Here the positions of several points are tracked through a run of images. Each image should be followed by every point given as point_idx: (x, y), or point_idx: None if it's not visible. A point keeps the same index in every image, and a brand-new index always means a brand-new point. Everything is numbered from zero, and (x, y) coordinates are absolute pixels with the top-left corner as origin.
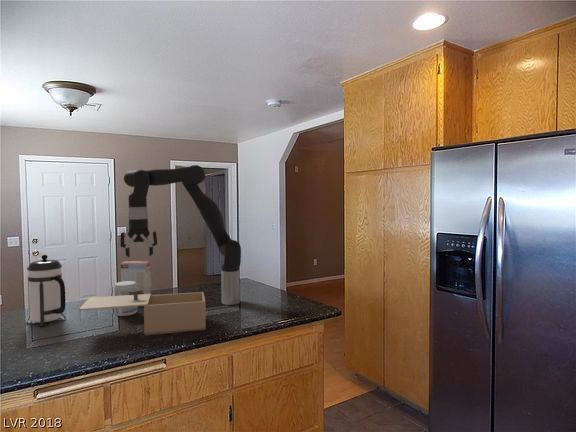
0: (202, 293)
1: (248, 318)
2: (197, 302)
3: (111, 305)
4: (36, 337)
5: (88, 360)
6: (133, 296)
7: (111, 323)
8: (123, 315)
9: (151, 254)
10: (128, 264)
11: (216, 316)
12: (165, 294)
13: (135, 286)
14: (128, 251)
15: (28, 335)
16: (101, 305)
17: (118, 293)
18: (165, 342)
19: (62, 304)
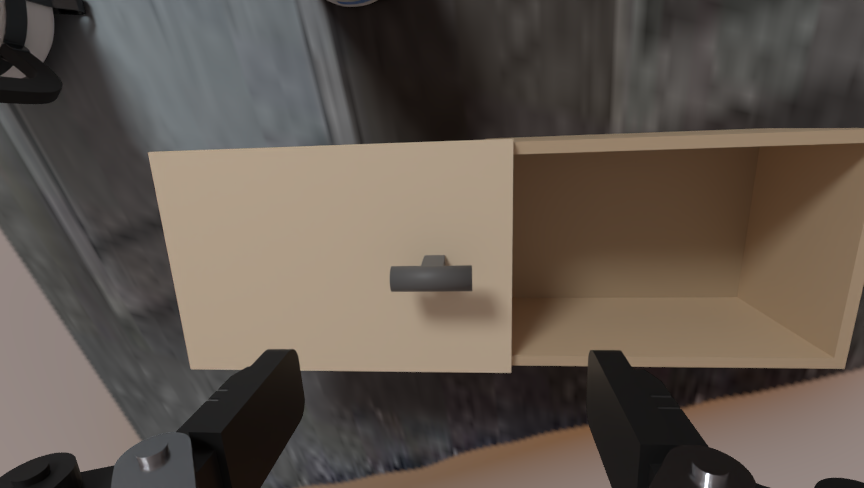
0: None
1: None
2: (791, 366)
3: (327, 350)
4: (90, 221)
5: (346, 457)
6: (408, 188)
7: (319, 112)
8: (348, 6)
9: (619, 354)
10: None
11: (840, 121)
12: (612, 140)
13: None
14: (256, 474)
15: (48, 190)
16: (276, 337)
17: None
18: (567, 388)
19: (25, 100)
